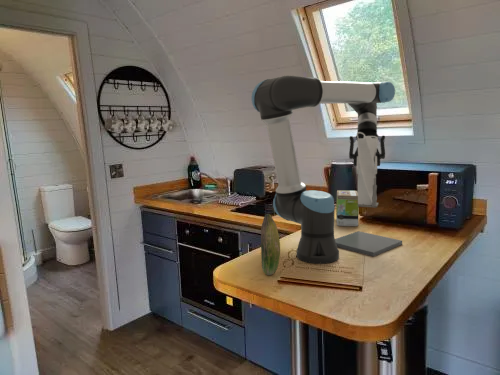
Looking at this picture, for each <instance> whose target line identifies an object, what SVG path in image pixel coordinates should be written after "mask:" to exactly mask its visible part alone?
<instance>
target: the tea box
mask: <svg viewBox="0 0 500 375" xmlns="http://www.w3.org/2000/svg"><path fill="white" fill-rule="evenodd" d="M335 204H336V205H335V206H336V207H335V208H336V210H335V211H336V213H335V214H336V216H335V218H336V226H340V227H358V226H359V211H360V208H359V207H357V205H358V190H337V191H336V203H335Z"/></svg>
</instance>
